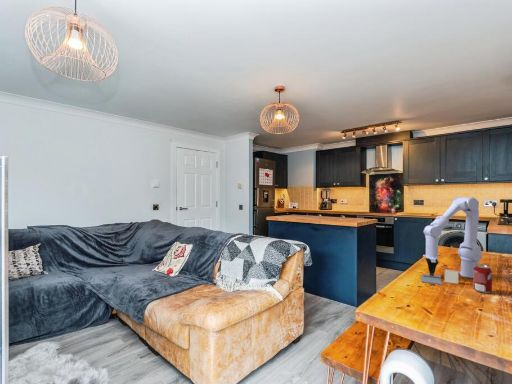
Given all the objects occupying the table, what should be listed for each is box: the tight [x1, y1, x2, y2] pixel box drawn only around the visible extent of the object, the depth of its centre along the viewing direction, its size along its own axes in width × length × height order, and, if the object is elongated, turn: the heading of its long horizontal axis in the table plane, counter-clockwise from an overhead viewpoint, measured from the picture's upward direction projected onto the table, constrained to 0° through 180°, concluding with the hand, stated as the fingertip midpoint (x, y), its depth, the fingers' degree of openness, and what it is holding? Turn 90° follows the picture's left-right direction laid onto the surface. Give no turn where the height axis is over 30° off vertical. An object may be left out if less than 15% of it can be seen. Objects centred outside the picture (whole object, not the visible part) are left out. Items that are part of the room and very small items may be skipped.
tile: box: [443, 269, 460, 285], centre depth 140 cm, size 2×6×6 cm, turn 63°
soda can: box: [472, 264, 493, 294], centre depth 129 cm, size 7×7×12 cm
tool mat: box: [419, 275, 443, 286], centre depth 143 cm, size 9×9×1 cm
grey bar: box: [422, 272, 442, 280], centre depth 149 cm, size 3×8×7 cm, turn 63°
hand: (431, 272), depth 149 cm, fingers closed on grey bar, 2 cm apart
